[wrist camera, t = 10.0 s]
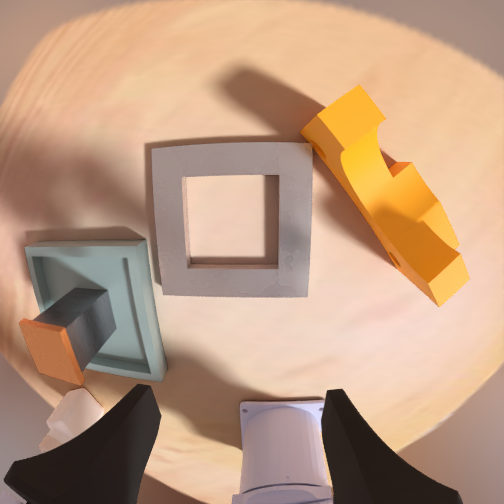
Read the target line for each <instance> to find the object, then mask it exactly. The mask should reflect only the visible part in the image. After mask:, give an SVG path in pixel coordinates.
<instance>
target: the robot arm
mask: <svg viewBox="0 0 504 504" xmlns="http://www.w3.org/2000/svg"><path fill="white" fill-rule="evenodd" d="M245 409H247V410H245ZM160 420H161V413H160V411H159V408H158V405H157V403H156V400H155V397H154V394H153V391H152V388H151V386H149V385H142V384H137V385H136V386H135V387H134V388H133V389H132V390H131V391H130V392H129V393H128V394H127V395H126V396H124V397H123V398H122V399H121V400H120V401H119V402H118V403H117V404H116V405H115V406H114V407H113V408H112V409H111V410H110V411H108V412H107V413H106V414H105V415H104V416H103V417H102V418H100V419H99V420H98V421H97V422H95V423H94V424H93V425H92V426H91V427H89V428H88V429H87V430H85V431H84V432H82V433H81V434H79V435H78V436H76V437H75V438H73V439H71V440H70V441H68V442H66V443H64V444H62V445H60V446H58V447H56V448H54V449H52V450H50V451H47V452H45V453H42V454H40V455H37V456H34V457H31V458H27V459H23V460H19V461H15V462H14V463H13V464H12V466H11V467H10V469H9V471H8V472H7V474H6V476H5V478H4V482H5V483H6V484H7V485H8V486H9V487H10V488H11V489H13V490H14V491H15V492H16V493H17V494H19V495H20V496H21V497H22V498H23V499H25V500H26V501H27V503H26V504H136V503H137V497H138V492H139V488H140V483H141V479H142V476H143V473H144V470H145V467H146V464H147V462H148V459H149V456H150V454H151V451H152V448H153V445H154V443H155V440H156V437H157V434H158V429H159V425H160ZM240 422H241V437H242V451H243V459H242V470H241V482H240V493H239V494H236V495H233V497H232V504H463V502H462V499H461V497H460V495H459V493H458V491H456V490H453V489H451V488H449V487H447V486H444V485H442V484H440V483H438V482H436V481H435V480H433V479H431V478H429V477H427V476H426V475H424V474H423V473H421V472H420V471H418V470H416V469H415V468H414V467H412V466H411V465H409V464H408V463H407V462H406V461H404V460H403V459H402V458H401V457H399V456H398V455H397V454H396V453H395V452H394V451H393V450H392V449H390V448H389V447H388V446H387V445H386V444H385V443H384V442H383V441H382V439H381V438H380V437H379V436H378V435H377V434H376V433H375V432H374V431H373V430H372V428H371V427H370V426H369V425H368V423H367V422H366V421H365V420H364V418H363V417H362V416H361V415H360V413H359V412H358V411H357V409H356V408H355V406H354V405H353V404H352V402H351V401H350V399H349V398H348V396H347V395H346V393H345V391H344V390H343V389H335V390H327V394H326V398H325V400H312V401H287V402H251V401H244V402H241V403H240ZM321 429H322V439H323V444H324V449H325V453H326V458H327V462H328V467H329V471H330V475H331V480H332V485H333V492H334V495H333V501H332V495H331V488H330V486H328V481H327V474H326V467H325V461H324V454H323V448H322V442H321V435H320V433H321ZM0 504H23V503H22V502H20V501H19V500H17V499H16V498H15V497H13V496H12V495H11V494H9V493H8V492H6V491H5V490H4V491H3V492H2V494H1V496H0Z"/></svg>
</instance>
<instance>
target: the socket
mask: <svg viewBox="0 0 504 504" xmlns="http://www.w3.org/2000/svg"><path fill="white" fill-rule="evenodd" d="M312 164H313V157H312V143H294V142H239V143H214V144H197V145H184V146H172V147H162V148H153V149H152V181H153V200H154V215H155V227H156V238H157V249H158V258H159V267H160V275H161V283H162V290H163V295H176V296H205V297H308V282H309V266H310V246H311V221H312ZM220 175H279V229H278V264H191V257H190V244H189V228H188V211H187V189H186V177H195V176H220Z"/></svg>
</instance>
